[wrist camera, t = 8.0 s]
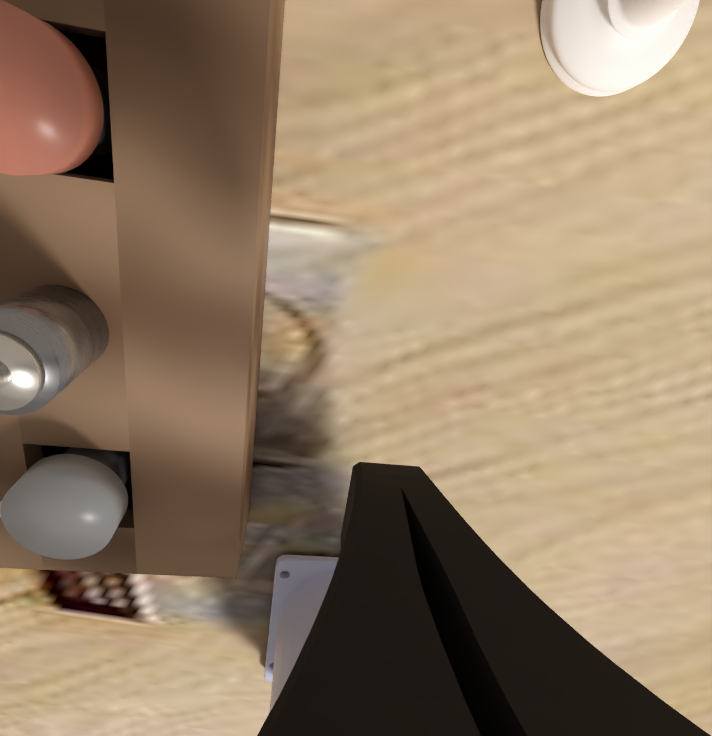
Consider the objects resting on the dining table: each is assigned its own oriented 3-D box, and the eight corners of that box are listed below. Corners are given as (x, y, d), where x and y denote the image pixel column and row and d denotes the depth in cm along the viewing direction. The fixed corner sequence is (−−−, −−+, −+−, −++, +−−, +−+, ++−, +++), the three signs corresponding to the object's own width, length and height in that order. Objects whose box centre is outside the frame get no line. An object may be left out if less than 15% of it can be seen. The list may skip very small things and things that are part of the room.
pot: (111, 370, 15) (35, 448, 11) (22, 362, 14) (-90, 438, 10) (105, 290, 13) (19, 343, 10) (9, 278, 13) (-122, 328, 9)
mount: (249, 509, 22) (236, 578, 18) (1, 493, 21) (-67, 564, 17) (284, -1, 14) (273, -57, 11) (-114, -82, 13) (-285, -178, 9)
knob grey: (163, 469, 20) (117, 562, 16) (74, 462, 20) (-2, 556, 15) (162, 401, 19) (110, 480, 14) (66, 392, 19) (-20, 472, 14)
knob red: (157, 178, 16) (87, 186, 11) (40, 161, 15) (-87, 160, 10) (154, 61, 14) (73, 11, 10) (25, 38, 14) (-127, -27, 9)
